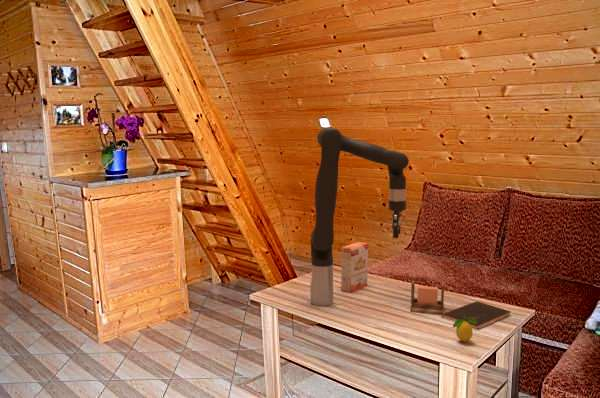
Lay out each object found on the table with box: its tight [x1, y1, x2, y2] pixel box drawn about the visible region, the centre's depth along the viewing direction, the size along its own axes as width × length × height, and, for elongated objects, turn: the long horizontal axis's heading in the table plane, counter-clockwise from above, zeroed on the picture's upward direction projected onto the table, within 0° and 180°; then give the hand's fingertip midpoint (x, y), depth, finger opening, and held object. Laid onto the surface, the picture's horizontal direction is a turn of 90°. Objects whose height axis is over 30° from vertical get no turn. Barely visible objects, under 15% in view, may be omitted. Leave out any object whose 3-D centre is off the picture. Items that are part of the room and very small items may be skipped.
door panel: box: [416, 285, 439, 305], centre depth 211 cm, size 8×3×8 cm, turn 74°
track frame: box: [409, 280, 445, 316], centre depth 211 cm, size 13×12×11 cm
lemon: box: [452, 315, 477, 342], centre depth 179 cm, size 7×6×10 cm
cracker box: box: [340, 241, 369, 293], centre depth 238 cm, size 14×6×21 cm, turn 139°
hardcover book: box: [441, 300, 512, 330], centre depth 203 cm, size 16×23×2 cm
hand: (396, 235), depth 221 cm, fingers open, 8 cm apart
